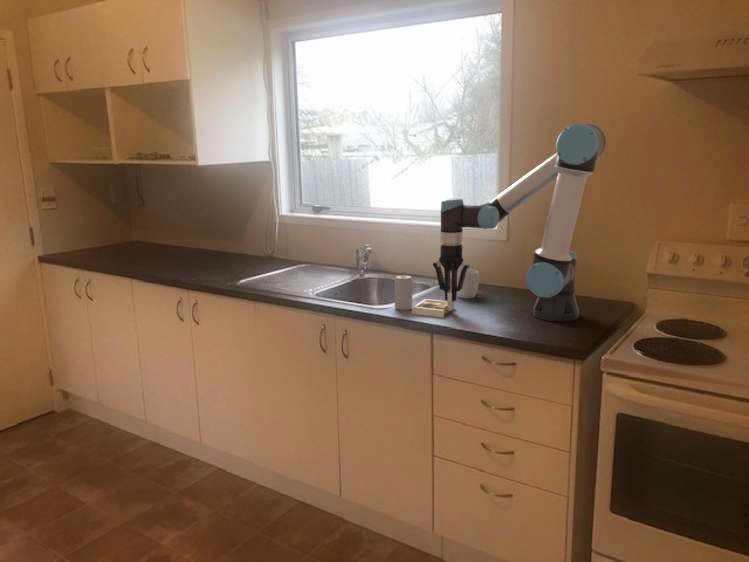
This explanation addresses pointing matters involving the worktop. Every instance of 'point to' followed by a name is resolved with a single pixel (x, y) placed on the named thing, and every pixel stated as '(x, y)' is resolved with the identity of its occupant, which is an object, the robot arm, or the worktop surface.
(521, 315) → the worktop surface
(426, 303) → the t block
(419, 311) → the tray
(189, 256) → the worktop surface
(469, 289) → the mug
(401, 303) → the beverage can
